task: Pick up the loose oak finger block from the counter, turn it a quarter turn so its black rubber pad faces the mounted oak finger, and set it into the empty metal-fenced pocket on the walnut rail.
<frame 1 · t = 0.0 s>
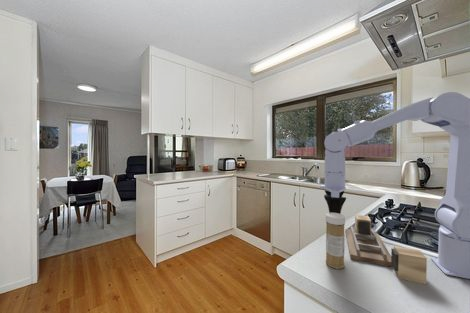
hand: (334, 215, 62), 10 cm above the countertop, tool pointing down, fingers open, 7 cm apart
sprinkles bottle: (334, 265, 53), on the countertop
finger block: (409, 276, 48), on the countertop
rail board: (365, 246, 63), on the countertop
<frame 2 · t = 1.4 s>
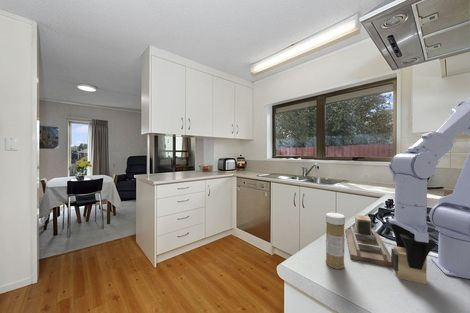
hand: (408, 259, 48), 4 cm above the countertop, tool pointing down, fingers open, 7 cm apart
nothing on the countertop moved.
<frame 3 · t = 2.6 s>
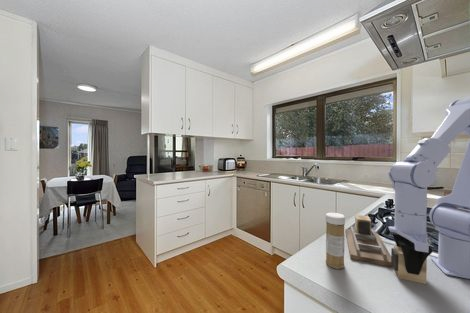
hand: (409, 267, 48), 2 cm above the countertop, tool pointing down, fingers closed on finger block, 4 cm apart
finger block: (408, 276, 48), on the countertop, touching gripper
everything else where it was.
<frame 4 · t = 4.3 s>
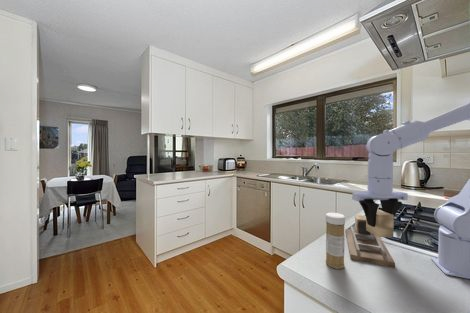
hand: (379, 225, 57), 9 cm above the countertop, tool pointing down, fingers closed on finger block, 4 cm apart
finger block: (379, 233, 56), point 7 cm above the countertop, touching gripper
everything else where it was.
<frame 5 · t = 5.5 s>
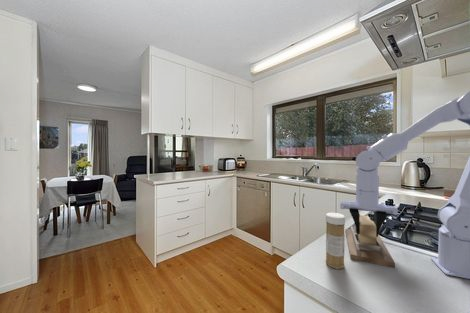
hand: (366, 234, 61), 4 cm above the countertop, tool pointing down, fingers closed on finger block, 4 cm apart
finger block: (366, 241, 61), point 2 cm above the countertop, touching gripper
everything else where it was.
when the fingers open (4 cm above the countertop, at t = 6.3 s): finger block stays where it is, resting on rail board.
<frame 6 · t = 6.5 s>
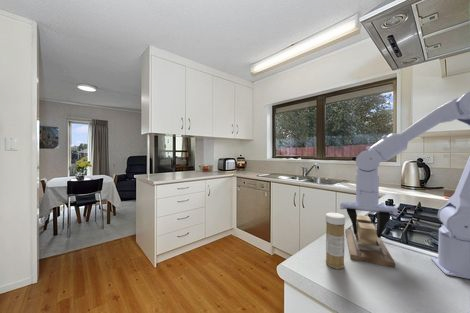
hand: (366, 234, 61), 4 cm above the countertop, tool pointing down, fingers open, 5 cm apart
finger block: (366, 245, 61), point 1 cm above the countertop, touching rail board
everything else where it was.
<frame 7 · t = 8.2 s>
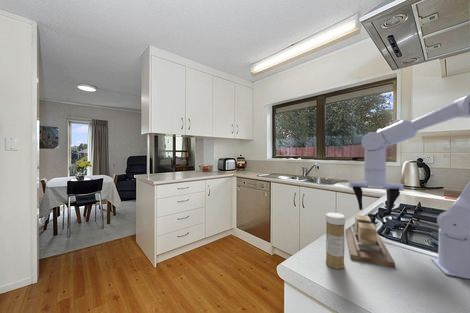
hand: (374, 210, 66), 10 cm above the countertop, tool pointing down, fingers open, 7 cm apart
nothing on the countertop moved.
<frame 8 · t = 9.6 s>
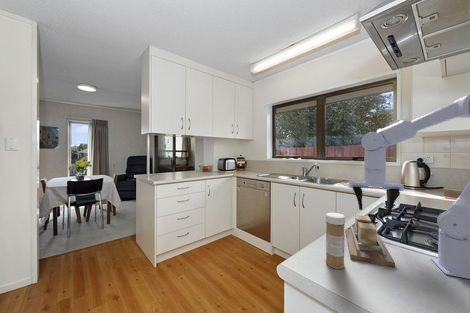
hand: (374, 210, 66), 10 cm above the countertop, tool pointing down, fingers open, 7 cm apart
nothing on the countertop moved.
at the end: finger block 0.1 cm from the target spot on the rail board, point 1.2 cm above the rail board's base; finger block tilted 0°; the gripper is holding nothing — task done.
